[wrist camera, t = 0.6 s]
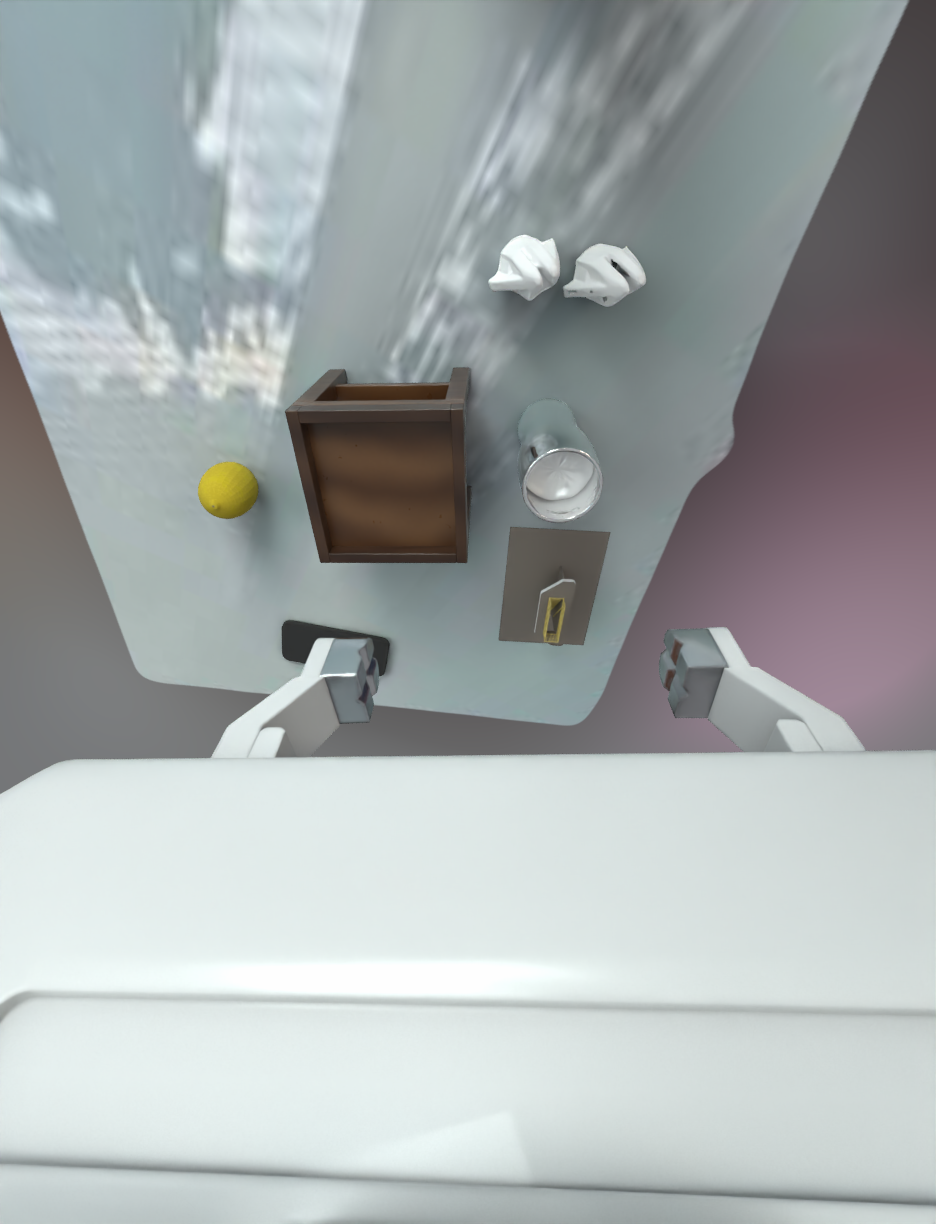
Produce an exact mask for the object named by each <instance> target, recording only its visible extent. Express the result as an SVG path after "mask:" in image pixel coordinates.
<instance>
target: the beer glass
mask: <svg viewBox="0 0 936 1224" xmlns="http://www.w3.org/2000/svg"><path fill="white" fill-rule="evenodd" d="M517 432H518V438H519V441H520V443H521V447H520V450H519V455H518V461H517V469H518V478H519V483H520V487H521V490H522V493H523V498H524V501H525V503H526V505H527V507H528V508H529V510H530V511H531V512H532V513H533V514H534V515H536V516H537V517H539V518H540V519H542V520H545V521H548V522H553V523H564V522H569V521H573V520H576V519H578V518H580V517H582V516H583V515H585V514H586V513H587V512H589V511H590V510H591V509H592V508H593V506H594V505H595V504H596V502H597V501H598V499H599V497H600V494H601V491H602V486H603V477H602V472H601V469H600V465H599V461H598V457H597V455H596V452H595V449H594V447H593V445H592V443H591V442H590V440H589V438H588V437H587V436H586V435H585V434H584V433H583V432H582V430H581V429H579V428H578V427H577V426H576V421H575V417H574V414H573V412H572V410H571V409H570V408H569V407H568V406H567V405H566V404H565V403H563V402H562V401H559V400H557V399H552V398H546V399H541V400H538V401H536V402H534V403H532V404H531V405H529V406H528V407H527V408H526V409H525V411H524V412H523V413H522V415H521V417H520V419H519V422H518V428H517Z"/></svg>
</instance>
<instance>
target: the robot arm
mask: <svg viewBox="0 0 936 1224" xmlns="http://www.w3.org/2000/svg"><path fill="white" fill-rule="evenodd" d="M664 643H665V646H666V649H665V650H664V651H663V652H662V653H661V655H660V661H659V673H660V679H661V682H662V685H663V687H664V688H666V689H667V690H668V691H670V692H669V697H668V701H669V703H670V706H671V708H672V711H673V714H674V716H675V718H708V720H709V721H710V722H711V723H712V724H714V726H716V727H717V728H718V729H719V730H720V731H721V732H722V733H723V734H724V735H726V736H727V737H728V738H729V739H730V740H731V741H732V742H733V743H735V744H736V745H737V746H738V747H739V748H740V749H741V750H742V751H744V752H721V753H644V754H551V755H550V754H548V755H547V754H544V755H466V756H465V755H464V756H375V757H311V756H312V755H313V753H314V752H315V751H316V750H317V749H318V748H319V747H320V746H321V745H322V744H323V743H324V742H325V741H326V739H327V738H328V737H329V736H330V735H331V734H332V733H333V732H334V731H335V730H336V729H337V728H338V727H339V725H340V724H343V723H367V722H370V718H371V714H372V710H373V706H374V702H373V698H372V696H373V695H375V694H376V693H377V690H378V685H379V667H378V662H377V660H376V659H375V658H374V657H373V656H372V655H373V651H374V646H373V642H372V639H371V638H318V639H317V640H316V641H315V643H314V645H313V647H312V650H311V652H310V654H309V657H308V659H307V661H306V664H305V666H304V668H303V671H302V673H301V675H300V677H295V678H293V679H292V680H290V681H289V682H288V683H286V684H285V685H284V686H282V687H281V688H280V689H278V690H277V691H275V692H274V693H273V694H271V695H270V696H269V697H267V698H266V699H264V700H263V701H262V702H260V703H259V704H258V705H256V706H255V707H254V708H252V709H251V710H250V711H248V712H247V713H245V714H244V715H243V716H241V717H240V718H239V719H237V720H236V721H234V722H233V723H232V724H230V725H229V726H228V727H227V728H226V730H225V732H224V734H223V736H222V738H221V740H220V742H219V744H218V745H217V747H216V749H215V751H214V753H213V755H212V757H211V758H189V759H75V760H67V761H62V762H59V763H56V764H54V765H52V766H50V767H48V768H46V769H44V770H42V771H40V772H39V773H37V774H35V775H33V776H31V777H29V778H28V779H26V780H24V781H22V782H21V783H19V784H18V785H16V786H14V787H12V788H10V789H9V790H7V791H5V792H4V793H2V794H0V1224H936V750H908V751H907V750H906V751H905V750H903V751H902V750H900V751H899V750H897V751H866V750H865V748H864V747H863V745H862V744H861V742H860V741H859V740H858V738H857V737H856V736H855V734H854V733H853V731H852V730H851V729H850V727H849V726H848V724H847V723H846V722H845V720H844V719H843V718H842V717H841V716H839V715H837V714H836V713H834V712H832V711H831V710H829V709H827V708H826V707H824V706H822V705H820V704H819V703H817V702H815V701H814V700H812V699H810V698H809V697H807V696H805V695H804V694H802V693H800V692H798V691H797V690H795V689H793V688H792V687H790V686H788V685H786V684H785V683H783V682H781V681H780V680H778V679H776V678H775V677H773V676H771V675H770V674H768V673H766V672H764V671H763V670H761V669H759V668H758V667H751V666H750V664H749V662H748V661H747V659H746V657H745V656H744V654H743V652H742V651H741V649H740V647H739V646H738V644H737V643H736V641H735V639H734V638H733V636H732V634H731V633H730V631H729V630H728V629H727V628H726V627H713V628H700V629H669V630H667V632H666V633H665V637H664Z"/></svg>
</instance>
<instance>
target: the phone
mask: <svg viewBox="0 0 936 1224" xmlns="http://www.w3.org/2000/svg"><path fill="white" fill-rule="evenodd" d="M318 638H371V639H372V642H373V646H374V651H373V655H372V656H373V657H374V658H375V659H376V660H377V662H378V667H379V676H382V675H383V674H384V673H385V669H386V663H387V657H388V650H389V642H388V640H386V639H385V638H382V637H377V636H371V635H366V634H361V633H355V632H350V631H345V630H339V629H334V628H329V627H323V626H318V625H313V624H307V623H302V622H297V621H290V620H289V621H285V622H284V624H283V626H282V654H283V657H284V658H285V659H287V660H289V661H294V662H300V663H305V664H306V661H307V659H308V657H309V654H310V652H311V650H312V647H313V645H314V643H315V641H316V640H317V639H318Z"/></svg>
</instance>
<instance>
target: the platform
mask: <svg viewBox="0 0 936 1224" xmlns="http://www.w3.org/2000/svg"><path fill="white" fill-rule="evenodd" d="M609 536H610V532H595V531H577V530H558V529H539V528H521V527H510V536H509V546H508V556H507V565H506V575H505V585H504V595H503V604H502V614H501V624H500V633H499V641H516V642H535V643H548V644H550V645H555V646H561V645H563V644H572V645H583V644H584V640H585V636H586V632H587V628H588V624H589V619H590V615H591V611H592V607H593V603H594V599H595V595H596V590H597V586H598V582H599V578H600V574H601V570H602V565H603V561H604V557H605V553H606V549H607V545H608V540H609Z"/></svg>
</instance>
